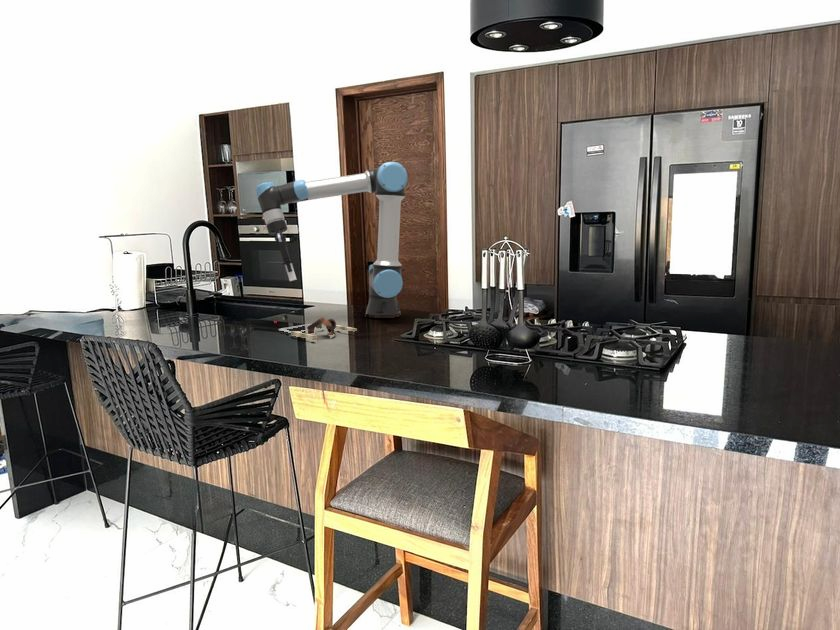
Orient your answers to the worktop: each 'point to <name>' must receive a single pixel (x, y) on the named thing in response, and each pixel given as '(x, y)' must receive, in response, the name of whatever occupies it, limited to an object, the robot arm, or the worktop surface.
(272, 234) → the robot arm
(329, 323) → the broken clay vessel
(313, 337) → the guide channel
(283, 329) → the tray
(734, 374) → the worktop surface
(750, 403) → the worktop surface
